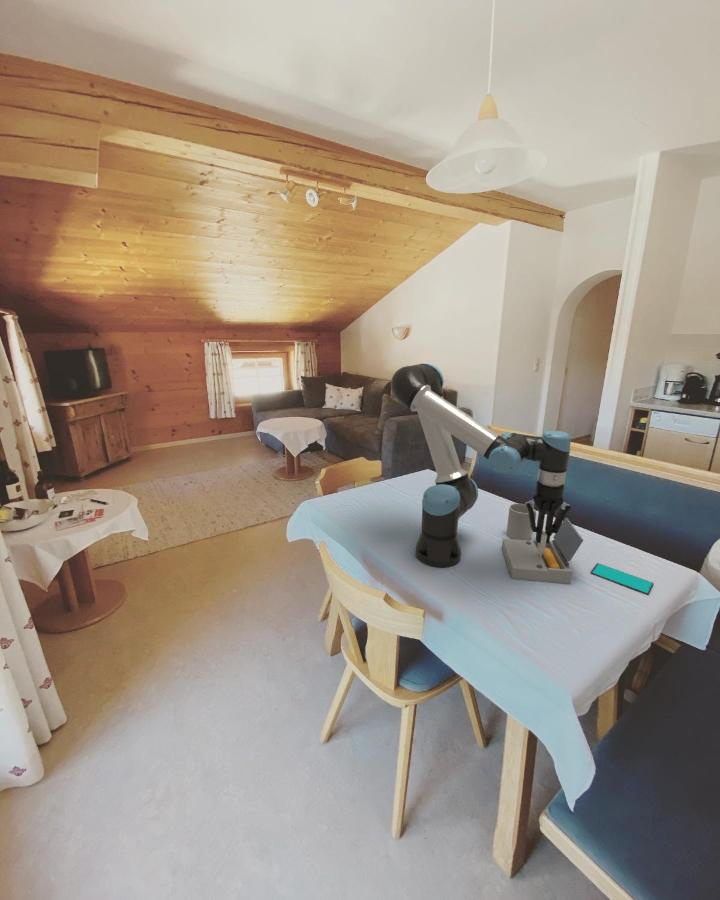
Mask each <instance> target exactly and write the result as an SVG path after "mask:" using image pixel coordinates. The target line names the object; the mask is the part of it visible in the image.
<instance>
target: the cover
mask: <svg viewBox="0 0 720 900" xmlns="http://www.w3.org/2000/svg"><path fill="white" fill-rule="evenodd" d="M551 541H552V542H553V544H554V546H555V547H556V549H557V551H558V553H559V554H560V556H561V558H562V560H563V561H564V563H565V565H566V566H569V567H570V563H569V562H571V561H572V559H573V557H574V556H575V554H576V553H577V551H578V550H579V548H580V547H581V545H582V544H583V542H584V538H582V535H580V534H579V532H578V531H577V528H575V527H574V525H573V524H572V522H571V521H570V520H569V518H568V517H564V519H563V521H562V524H561V526H560V528H559V530H558V532H557V533H556V534H555V533H554V535H553V539H551Z"/></svg>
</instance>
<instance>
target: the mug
mask: <svg viewBox="0 0 720 900" xmlns="http://www.w3.org/2000/svg"><path fill="white" fill-rule="evenodd" d="M533 510H534V516H535V521H536V520H537V510H536V509H534V508H533ZM506 526H507V527H506V535H507V537H509V539H516V540H529V541H531V540H530V539H531V538H532V534H533V531H532V529H531V526H530V520H529V513H528V508H527V506H526V504H525V503H512V504H510V506H509V508H508V517H507V524H506Z"/></svg>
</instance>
